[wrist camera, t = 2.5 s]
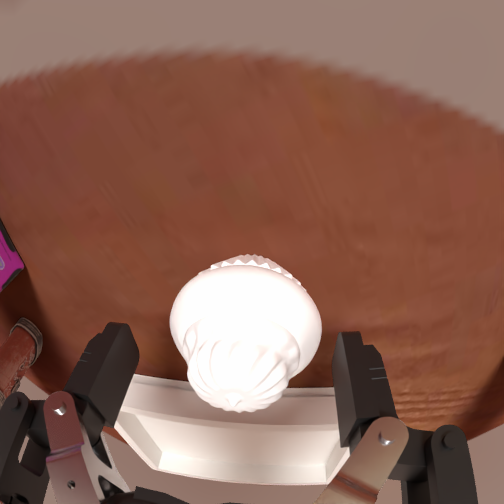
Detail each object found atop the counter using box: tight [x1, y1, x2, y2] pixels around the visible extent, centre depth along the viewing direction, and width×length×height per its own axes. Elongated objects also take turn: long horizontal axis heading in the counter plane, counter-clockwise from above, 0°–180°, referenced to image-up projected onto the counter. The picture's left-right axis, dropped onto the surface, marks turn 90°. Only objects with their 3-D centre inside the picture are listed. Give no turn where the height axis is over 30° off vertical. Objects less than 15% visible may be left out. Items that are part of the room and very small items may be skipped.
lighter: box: [0, 317, 42, 409], centre depth 17 cm, size 8×3×10 cm, turn 136°
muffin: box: [170, 254, 322, 413], centre depth 12 cm, size 6×6×7 cm
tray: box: [114, 374, 350, 485], centre depth 22 cm, size 20×16×3 cm
